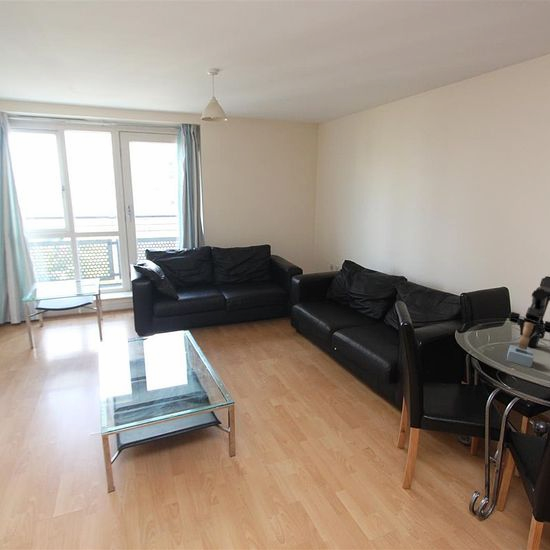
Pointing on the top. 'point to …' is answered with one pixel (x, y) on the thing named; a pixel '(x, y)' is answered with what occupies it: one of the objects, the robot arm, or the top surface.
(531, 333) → the robot arm
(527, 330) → the walnut peg
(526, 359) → the hole block
